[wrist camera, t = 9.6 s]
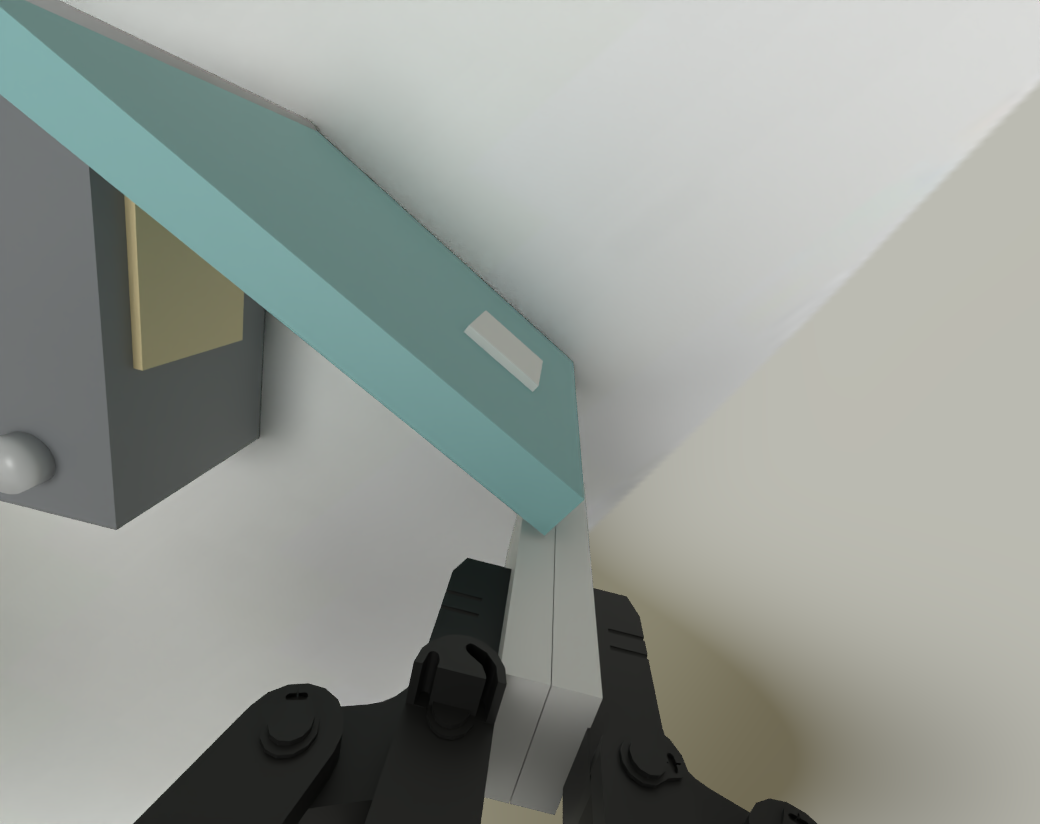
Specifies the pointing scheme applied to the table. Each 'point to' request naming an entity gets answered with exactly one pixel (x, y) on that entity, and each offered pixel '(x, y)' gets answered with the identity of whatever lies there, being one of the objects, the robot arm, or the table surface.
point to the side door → (308, 247)
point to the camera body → (110, 343)
